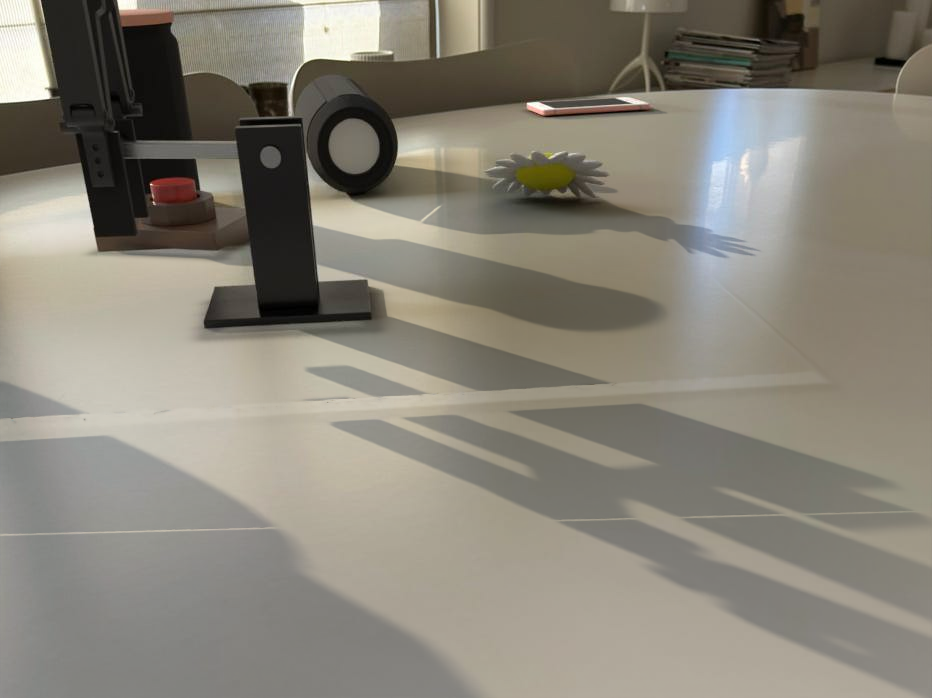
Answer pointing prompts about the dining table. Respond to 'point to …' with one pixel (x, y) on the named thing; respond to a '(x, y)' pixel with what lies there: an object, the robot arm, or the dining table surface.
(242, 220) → the button box
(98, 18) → the robot arm
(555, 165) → the decorative flower
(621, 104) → the cell phone
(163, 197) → the button
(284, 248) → the bracket
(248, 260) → the dining table surface
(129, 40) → the coffee jar
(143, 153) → the lever
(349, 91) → the portable speaker
